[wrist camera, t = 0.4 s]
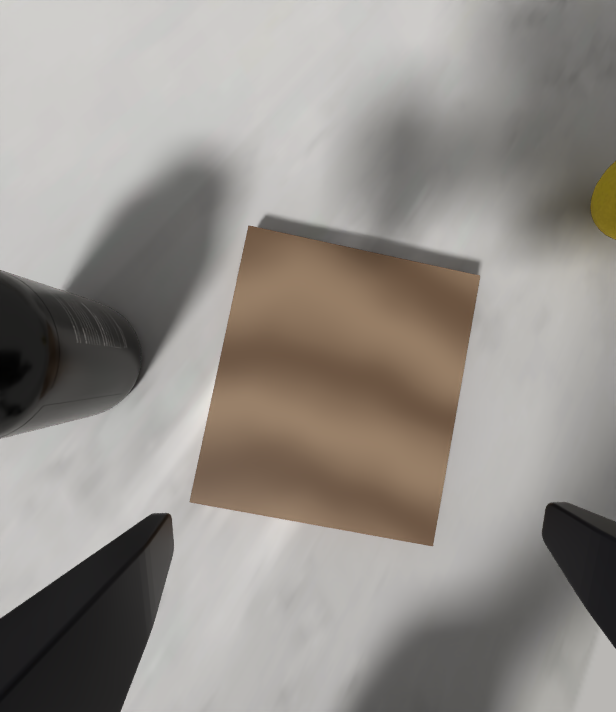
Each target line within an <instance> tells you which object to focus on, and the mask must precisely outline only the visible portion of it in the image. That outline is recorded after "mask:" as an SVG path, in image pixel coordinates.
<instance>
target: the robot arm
mask: <svg viewBox="0 0 616 712" xmlns="http://www.w3.org/2000/svg"><path fill="white" fill-rule="evenodd" d="M542 537H543V540H544V543H545V545H546V546H547V548H548V549H549V551H550V552H551V554H552V556H553V557H554V559H555V560H556V562H557V564H558V565H559V567H560V568H561V570H562V572H563V573H564V575H565V576H566V578H567V579H568V581H569V583H570V584H571V586H572V587H573V589H574V591H575V592H576V594H577V595H578V597H579V598H580V600H581V601H582V603H583V604H584V606H585V608H586V609H587V610H588V612H589V613H590V615H591V616H592V617H593V619H594V620H595V622H596V623H597V624H598V626H599V627H600V628H601V630H602V631H603V632H604V634H605V635H606V636H607V637H608V639H609V640H610V642H611V643H612V644H613V646H614V647H615V648H616V522H615V521H612V520H610V519H607V518H605V517H602V516H600V515H597V514H595V513H592V512H590V511H587V510H585V509H582V508H580V507H577V506H575V505H573V504H570V503H567V502H551V503H549V504H548V505H547V506H546V509H545V515H544V522H543V528H542ZM173 551H174V539H173V527H172V518H171V515H170V514H169V513H154V514H151V515H149V516H148V517H146V518H145V519H143V520H142V521H140V522H139V523H137V524H136V525H135V526H133V527H132V528H130V529H129V530H127V531H126V532H124V533H123V534H122V535H120V536H119V537H117V538H116V539H114V540H113V541H111V542H110V543H109V544H107V545H106V546H104V547H103V548H101V549H100V550H99V551H97V552H96V553H94V554H93V555H91V556H90V557H88V558H87V559H86V560H84V561H83V562H81V563H80V564H78V565H77V566H75V567H74V568H73V569H71V570H70V571H68V572H67V573H65V574H64V575H62V576H61V577H60V578H58V579H57V580H55V581H54V582H52V583H51V584H49V585H48V586H47V587H45V588H44V589H42V590H41V591H39V592H38V593H36V594H35V595H34V596H32V597H31V598H29V599H28V600H26V601H25V602H23V603H22V604H21V605H19V606H18V607H16V608H15V609H13V610H12V611H10V612H9V613H8V614H6V615H5V616H3V617H2V618H0V712H121V709H122V706H123V704H124V701H125V699H126V696H127V693H128V691H129V688H130V686H131V683H132V680H133V678H134V675H135V673H136V670H137V667H138V665H139V662H140V660H141V657H142V654H143V652H144V649H145V647H146V644H147V642H148V639H149V636H150V633H151V630H152V628H153V624H154V621H155V618H156V614H157V611H158V607H159V603H160V600H161V596H162V592H163V589H164V585H165V582H166V578H167V574H168V571H169V567H170V564H171V560H172V556H173Z"/></svg>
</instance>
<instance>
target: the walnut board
mask: <svg viewBox="0 0 616 712" xmlns="http://www.w3.org/2000/svg"><path fill="white" fill-rule="evenodd" d="M479 280H480V276H479V275H475V274H470V273H465V272H461V271H456V270H452V269H447V268H442V267H438V266H433V265H428V264H424V263H419V262H415V261H410V260H405V259H401V258H396V257H392V256H387V255H382V254H378V253H373V252H369V251H364V250H359V249H355V248H350V247H346V246H341V245H336V244H332V243H327V242H323V241H318V240H313V239H309V238H304V237H299V236H295V235H290V234H286V233H281V232H276V231H272V230H267V229H263V228H258V227H253V226H248V230H247V235H246V240H245V245H244V249H243V254H242V259H241V263H240V268H239V273H238V277H237V282H236V287H235V291H234V296H233V301H232V305H231V310H230V315H229V319H228V324H227V329H226V334H225V338H224V343H223V348H222V352H221V357H220V362H219V366H218V371H217V376H216V380H215V385H214V390H213V394H212V399H211V404H210V408H209V413H208V418H207V423H206V427H205V432H204V437H203V441H202V446H201V451H200V455H199V460H198V465H197V469H196V474H195V479H194V483H193V488H192V493H191V498H190V502H191V503H197V504H202V505H208V506H213V507H219V508H224V509H230V510H235V511H241V512H246V513H252V514H257V515H263V516H268V517H274V518H280V519H285V520H291V521H296V522H302V523H307V524H313V525H318V526H324V527H329V528H335V529H340V530H346V531H351V532H357V533H362V534H368V535H373V536H379V537H384V538H390V539H395V540H401V541H406V542H412V543H417V544H423V545H428V546H433V542H434V537H435V531H436V525H437V520H438V514H439V508H440V502H441V497H442V491H443V485H444V480H445V474H446V468H447V462H448V457H449V451H450V445H451V440H452V434H453V428H454V423H455V417H456V411H457V405H458V400H459V394H460V388H461V383H462V377H463V371H464V366H465V360H466V354H467V348H468V343H469V337H470V331H471V326H472V320H473V314H474V309H475V303H476V297H477V291H478V286H479Z"/></svg>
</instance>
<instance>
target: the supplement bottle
mask: <svg viewBox="0 0 616 712" xmlns="http://www.w3.org/2000/svg"><path fill="white" fill-rule="evenodd" d="M140 367H141V348H140V343H139V340H138V338H137V335H136V333H135V331H134V330H133V328H132V326H131V325H130V324H129V322H128V321H127V320H126V319H125V318H124V317H123V316H122V315H121V314H119V313H118V312H117V311H115V310H113V309H112V308H110V307H108V306H106V305H103V304H101V303H98V302H95V301H93V300H90V299H87V298H84V297H81V296H78V295H75V294H72V293H69V292H66V291H63V290H60V289H56V288H53V287H50V286H47V285H44V284H41V283H38V282H35V281H32V280H29V279H26V278H23V277H20V276H17V275H14V274H11V273H8V272H5V271H2V270H0V439H1V438H5V437H9V436H13V435H17V434H21V433H25V432H29V431H33V430H38V429H42V428H46V427H50V426H54V425H58V424H62V423H66V422H70V421H74V420H78V419H82V418H86V417H89V416H93V415H96V414H99V413H102V412H104V411H107V410H109V409H111V408H112V407H114V406H115V405H117V404H118V403H119V402H121V401H122V400H123V399H124V398H125V397H126V396H127V395H128V393H129V392H130V391H131V389H132V388H133V386H134V384H135V383H136V381H137V378H138V375H139V372H140Z"/></svg>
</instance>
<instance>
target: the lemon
mask: <svg viewBox="0 0 616 712" xmlns="http://www.w3.org/2000/svg"><path fill="white" fill-rule="evenodd" d="M590 208H591V214H592V218H593V221H594V223H595V224H596V226H597V227H598V228H599V230H600V231H602V232H603V233H604V234H605V235H607V236H609V237H611V238H613V239H615V240H616V161H615V162H614V163H613V164H612V165H611V166H610V167H609V168H608V169H607V170H606V171H605V173H604V174H603V175H602V177H601V178H600V180H599V181H598V183H597V185H596V187H595V189H594V192H593V195H592V198H591V207H590Z"/></svg>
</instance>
